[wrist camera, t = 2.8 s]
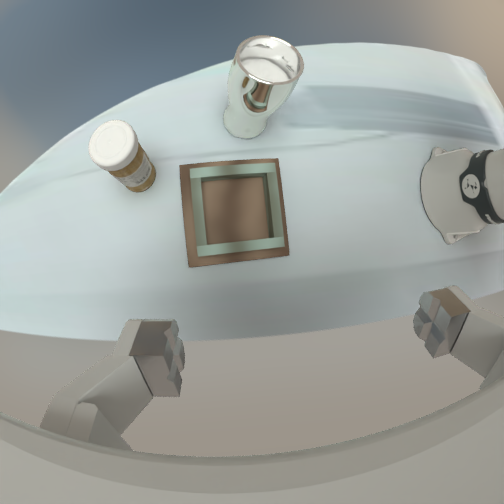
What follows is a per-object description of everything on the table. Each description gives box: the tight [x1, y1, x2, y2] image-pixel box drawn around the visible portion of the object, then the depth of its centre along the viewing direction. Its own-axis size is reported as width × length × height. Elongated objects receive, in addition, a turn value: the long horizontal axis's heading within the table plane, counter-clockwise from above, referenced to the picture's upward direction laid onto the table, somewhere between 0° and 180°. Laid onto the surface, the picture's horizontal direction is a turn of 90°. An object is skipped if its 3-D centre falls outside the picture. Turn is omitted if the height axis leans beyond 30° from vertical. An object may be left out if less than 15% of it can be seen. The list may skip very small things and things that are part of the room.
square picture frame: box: [180, 158, 289, 267], centre depth 34 cm, size 13×13×4 cm
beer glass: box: [223, 35, 304, 139], centre depth 29 cm, size 7×7×15 cm
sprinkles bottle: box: [89, 120, 156, 192], centre depth 27 cm, size 5×5×13 cm
